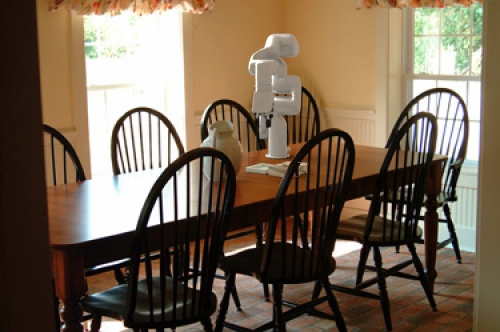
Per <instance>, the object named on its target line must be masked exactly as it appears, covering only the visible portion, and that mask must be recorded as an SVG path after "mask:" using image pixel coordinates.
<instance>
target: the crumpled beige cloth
mask: <svg viewBox="0 0 500 332" xmlns="http://www.w3.org/2000/svg"><path fill="white" fill-rule="evenodd" d="M290 162H291V161H290V160H289V161H288V160H287V161H285V162H281V163H280V162H279V163H277V164H272V165H273V166H269V167H268V168H269V173H268V176H272V177H280V178H284V177H283V176H284V174H285V172H286V170H287V168H288V166H289V164H290ZM300 163H301V164H300V166H299V176H301V175H300V174H303V175H305V174H304V173H306V174H308V173H307V164H305V163H306V162H304V163H303V162H300ZM293 178H296V177H295V174H294V177H293Z"/></svg>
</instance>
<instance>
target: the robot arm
mask: <svg viewBox="0 0 500 332" xmlns="http://www.w3.org/2000/svg"><path fill="white" fill-rule="evenodd" d="M299 53H300V45H299V41H298V40H297V37H296V36H295V35H294V34H292V33H272V34H270V35H268V37H267V38H266V41H265V44H264V47H263V48H261V49H259V50H257V51H256V52H254V53H253V54H252V55H251V57H250V60H249V63H248V73H249V74H250V75H251V76H255V84H254V86H253V88H255V90H254V91H253V96H252V108H251V110H250V112H251V113H252V114H253V115H254V117H255V118H256V126H257V128H259V115H260V114H266V115H267V120H266V128H269V139H267V140H268V141H267V142H268V143H267V145H268V153H265V154H264V155H265V156H264V157H265V158H267V159H274V160H275V159H278V160H279V159H286V158H287V157H288V158H290V156H291V155H290V154H289V153H288V152H291V147H290V146H289V147H288V146H287V143H288V141H287V139H288V134H287V130H288V129H287V126H288V125H287V121H286V120H285V119H286V118H284V117H283V116H284V115H286V116H297V115H299V113H300V112H301V106H302V105H301V104H302V102H301V101H302V81H301V78H300V76H297V75H288V64H287V63H286V61H285V60H284V58H296V57H297V56H298V55H299ZM275 94H277V95H275ZM278 94H279V95H278ZM286 95H289V96H286ZM290 95H291V96H290Z"/></svg>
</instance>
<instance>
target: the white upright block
mask: <svg viewBox="0 0 500 332" xmlns="http://www.w3.org/2000/svg"><path fill="white" fill-rule="evenodd" d="M266 120H267V115H266V113H262V114H260V115H259V127H258V128H259V139H260V140H268V139H269V128H266Z"/></svg>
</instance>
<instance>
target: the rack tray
mask: <svg viewBox="0 0 500 332" xmlns="http://www.w3.org/2000/svg"><path fill="white" fill-rule="evenodd" d="M273 165H274V164H270V163H258V164H255V165H251V166H245V172H247V173H251V174H258V175H259V174H260V175H267V174H268V175H269V168H268V167H269V166H273Z"/></svg>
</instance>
